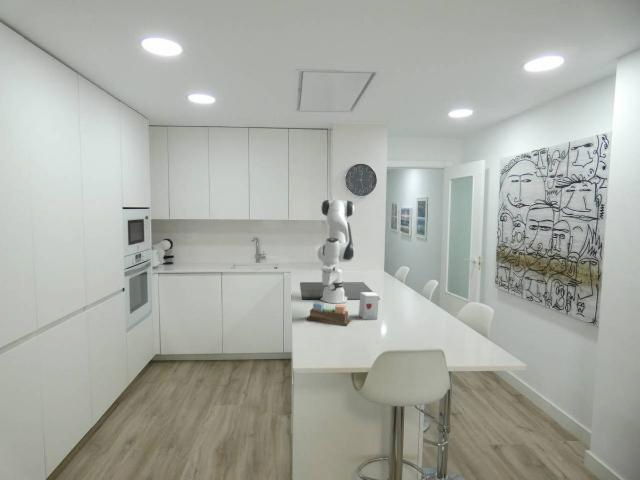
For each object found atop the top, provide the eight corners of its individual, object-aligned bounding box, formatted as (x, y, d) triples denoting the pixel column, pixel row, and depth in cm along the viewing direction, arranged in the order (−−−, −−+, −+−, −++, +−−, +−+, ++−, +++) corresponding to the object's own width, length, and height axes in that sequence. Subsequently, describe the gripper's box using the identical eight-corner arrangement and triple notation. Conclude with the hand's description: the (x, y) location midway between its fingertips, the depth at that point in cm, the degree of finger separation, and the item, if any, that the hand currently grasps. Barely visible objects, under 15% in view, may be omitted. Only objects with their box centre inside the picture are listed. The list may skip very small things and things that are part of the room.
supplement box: (363, 320, 236) (365, 295, 234) (358, 315, 244) (359, 291, 243) (377, 319, 238) (379, 295, 237) (372, 315, 247) (373, 291, 246)
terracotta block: (336, 312, 231) (337, 304, 231) (345, 314, 230) (345, 305, 229) (334, 315, 226) (335, 306, 226) (343, 316, 225) (343, 307, 225)
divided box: (311, 316, 239) (312, 306, 238) (350, 321, 232) (351, 311, 231) (306, 320, 229) (306, 310, 229) (346, 326, 222) (347, 315, 222)
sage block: (325, 315, 233) (326, 307, 233) (334, 316, 232) (334, 308, 231) (323, 317, 229) (323, 309, 228) (331, 318, 227) (332, 310, 227)
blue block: (315, 310, 235) (315, 301, 235) (323, 311, 234) (323, 302, 233) (312, 312, 230) (313, 303, 230) (321, 313, 229) (321, 304, 228)
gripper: (330, 262, 240) (329, 285, 242) (320, 268, 221) (319, 292, 223) (340, 263, 239) (339, 286, 240) (331, 269, 219) (330, 294, 221)
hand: (329, 289), depth 231 cm, fingers closed
